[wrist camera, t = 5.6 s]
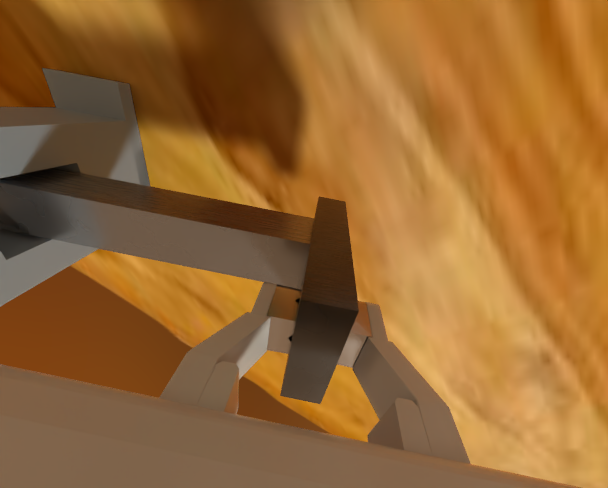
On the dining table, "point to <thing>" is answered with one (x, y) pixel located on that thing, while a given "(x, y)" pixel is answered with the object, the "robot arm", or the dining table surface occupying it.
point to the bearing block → (65, 162)
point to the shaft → (208, 249)
